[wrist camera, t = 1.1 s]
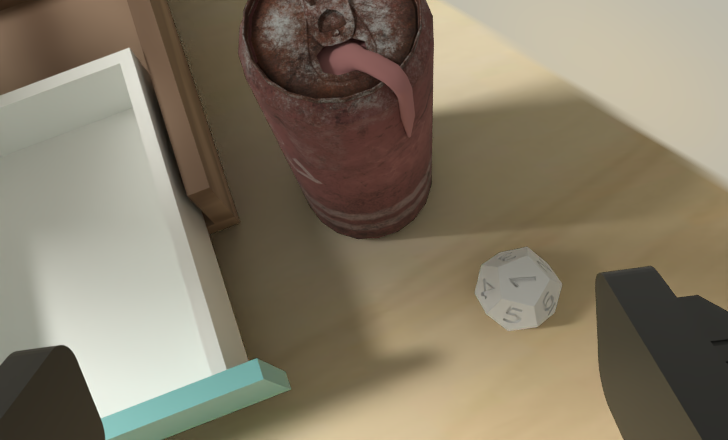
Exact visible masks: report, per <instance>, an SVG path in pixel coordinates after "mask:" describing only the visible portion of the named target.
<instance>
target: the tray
mask: <svg viewBox="0 0 728 440" xmlns="http://www.w3.org/2000/svg"><path fill="white" fill-rule="evenodd" d="M57 345H65V346H67V347H69V348H70V349H71V350H72V351H73V353H74V355H75V357H76V359H77V361H78V363H79V366H80V368H81V371H82V373H83V376H84V378H85V381H86V383H87V386H88V388H89V391H90V393H91V396H92V398H93V401H94V403H95V405H96V408H97V410H98V413H99V415H100V418H101V420H102V423H103V427H104V432H105V440H163V439H165V438H168V437H170V436H173V435H175V434H178V433H181V432H183V431H186V430H188V429H191V428H193V427H196V426H199V425H201V424H204V423H206V422H209V421H211V420H214V419H217V418H219V417H222V416H224V415H227V414H229V413H232V412H235V411H237V410H240V409H242V408H245V407H247V406H250V405H253V404H255V403H258V402H260V401H263V400H265V399H268V398H271V397H273V396H276V395H278V394H281V393H283V392H286V391H289V390H291V387H290V384H289V381H288V378H287V374H286V372H285V371H283V370H281V369H279V368H277V367H275V366H272V365H270V364H268V363H266V362H264V361H262V360H260V359H258V358H256V359H253V360H251V361H248V358H247V355H246V351H245V348H244V345H243V342H242V339H241V336H240V332H239V329H238V326H237V323H236V320H235V316H234V313H233V310H232V307H231V304H230V300H229V297H228V294H227V291H226V288H225V284H224V281H223V278H222V275H221V272H220V269H219V265H218V262H217V259H216V256H215V253H214V249H213V246H212V243H211V240H210V237H209V233H208V230H207V227H206V224H205V221H204V217H203V214H202V211H201V209H200V208H199V207H198V206H197V205H196V204H195V203H194V202H193V201H192V200H191V199H190V198H189V197H188V196H187V194H186V190H185V187H184V184H183V181H182V177H181V174H180V171H179V168H178V164H177V161H176V158H175V155H174V151H173V148H172V145H171V142H170V139H169V135H168V132H167V129H166V126H165V122H164V119H163V116H162V113H161V109H160V106H159V103H158V100H157V96H156V93H155V90H154V87H153V83H152V80H151V77H150V74H149V73H148V71H147V70H146V69H145V67H144V66H143V65H142V63H141V62H140V61H139V59H138V58H137V57H136V56H135V54H134V53H133V52H132V50H131V49H130V48H127V49H124V50H121V51H119V52H116V53H113V54H111V55H108V56H105V57H103V58H100V59H97V60H94V61H92V62H89V63H86V64H84V65H81V66H78V67H76V68H73V69H70V70H68V71H65V72H62V73H59V74H57V75H54V76H51V77H49V78H46V79H43V80H41V81H38V82H35V83H33V84H30V85H27V86H25V87H22V88H19V89H16V90H14V91H11V92H8V93H6V94H3V95H0V365H1V364H2V363H3V361H4V360H5V359H6V358H7V357H8V356H9V355H10V354H11V353H13V352H15V351H20V350H27V349H35V348H42V347H49V346H57Z"/></svg>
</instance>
